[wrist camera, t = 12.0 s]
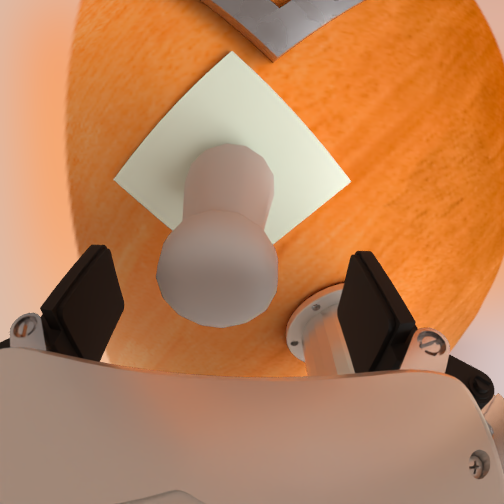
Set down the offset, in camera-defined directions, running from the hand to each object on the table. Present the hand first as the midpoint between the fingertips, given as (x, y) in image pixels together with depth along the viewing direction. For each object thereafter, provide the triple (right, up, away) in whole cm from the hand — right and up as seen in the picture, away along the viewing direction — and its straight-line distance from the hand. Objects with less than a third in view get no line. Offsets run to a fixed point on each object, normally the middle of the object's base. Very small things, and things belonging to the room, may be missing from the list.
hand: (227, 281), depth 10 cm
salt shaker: (-1, +7, +10) cm, 12 cm away
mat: (-1, +7, +10) cm, 12 cm away
